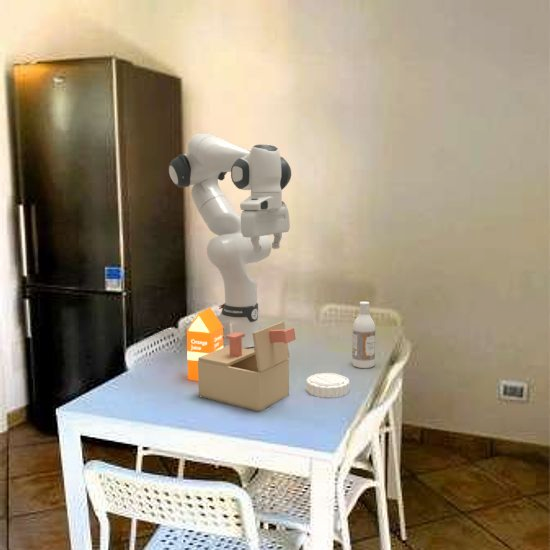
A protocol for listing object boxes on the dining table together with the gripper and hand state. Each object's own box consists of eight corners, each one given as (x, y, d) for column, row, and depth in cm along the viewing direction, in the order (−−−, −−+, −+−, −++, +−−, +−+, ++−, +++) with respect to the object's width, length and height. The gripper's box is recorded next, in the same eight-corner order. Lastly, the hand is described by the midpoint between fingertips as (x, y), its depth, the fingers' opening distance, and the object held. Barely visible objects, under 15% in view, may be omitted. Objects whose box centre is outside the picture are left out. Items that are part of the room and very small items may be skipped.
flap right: (252, 333, 152) (274, 332, 149) (281, 321, 163) (302, 320, 160) (258, 371, 153) (280, 371, 149) (287, 357, 164) (308, 357, 160)
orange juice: (224, 372, 184) (222, 308, 181) (211, 382, 176) (210, 314, 173) (200, 370, 187) (198, 306, 184) (187, 379, 179) (185, 312, 175)
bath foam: (362, 370, 186) (363, 305, 182) (347, 364, 192) (348, 301, 188) (379, 366, 190) (380, 302, 186) (364, 360, 195) (365, 299, 192)
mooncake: (358, 392, 168) (358, 380, 167) (323, 401, 161) (323, 388, 161) (331, 380, 178) (331, 368, 177) (297, 388, 171) (297, 376, 171)
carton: (198, 396, 165) (197, 360, 164) (230, 381, 177) (229, 348, 175) (259, 411, 154) (259, 373, 153) (289, 394, 166) (288, 359, 164)
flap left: (198, 360, 164) (197, 336, 163) (229, 348, 175) (229, 325, 174) (227, 366, 158) (226, 341, 157) (257, 353, 170) (257, 330, 168)
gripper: (276, 200, 186) (277, 245, 188) (236, 203, 169) (237, 253, 171) (294, 200, 182) (294, 247, 184) (255, 204, 165) (255, 255, 168)
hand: (266, 250), depth 178 cm, fingers open, 8 cm apart
